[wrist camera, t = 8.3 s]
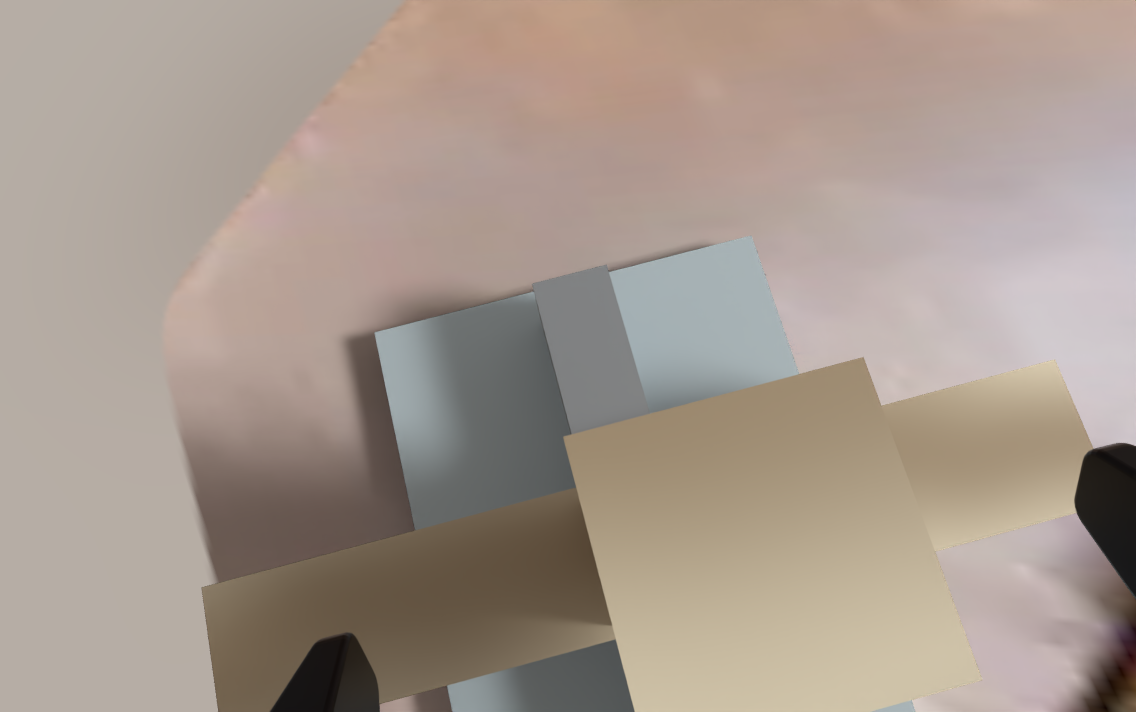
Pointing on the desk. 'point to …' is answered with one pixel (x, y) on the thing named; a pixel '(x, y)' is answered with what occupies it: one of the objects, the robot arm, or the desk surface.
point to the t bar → (697, 554)
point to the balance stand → (569, 409)
